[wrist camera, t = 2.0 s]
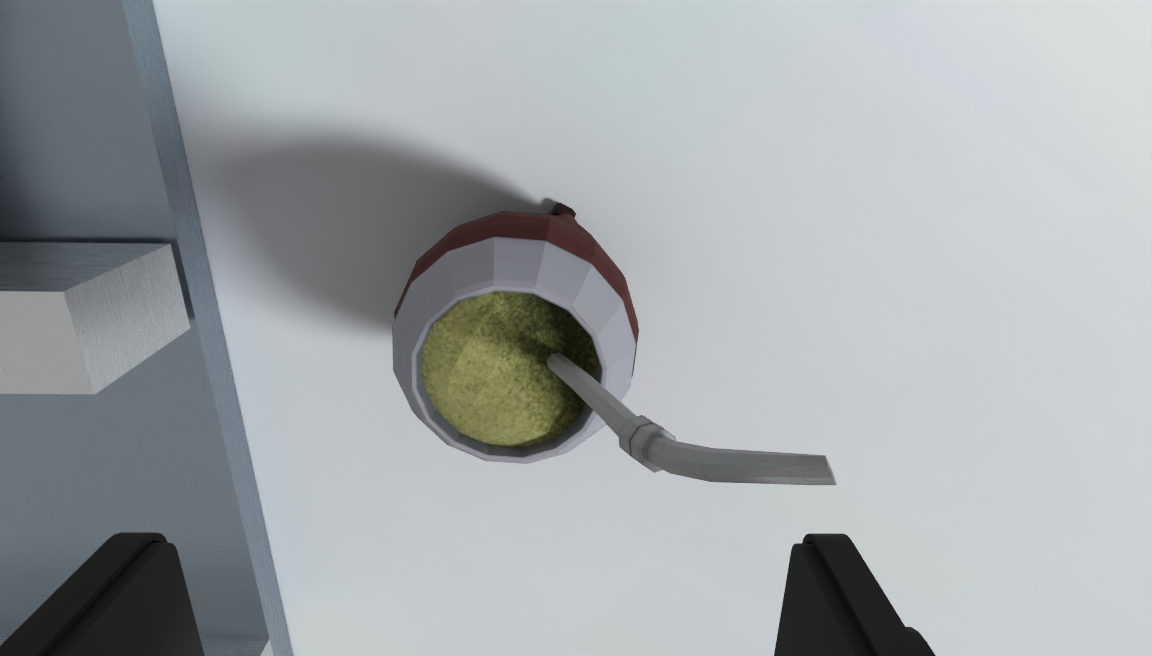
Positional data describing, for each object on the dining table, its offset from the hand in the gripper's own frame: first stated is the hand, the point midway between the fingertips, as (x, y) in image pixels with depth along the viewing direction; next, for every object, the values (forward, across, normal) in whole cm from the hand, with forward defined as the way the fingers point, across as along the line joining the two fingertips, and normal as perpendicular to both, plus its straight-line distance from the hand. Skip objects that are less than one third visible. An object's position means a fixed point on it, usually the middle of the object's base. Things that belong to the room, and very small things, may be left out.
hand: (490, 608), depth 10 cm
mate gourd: (+15, 0, -1) cm, 15 cm away
